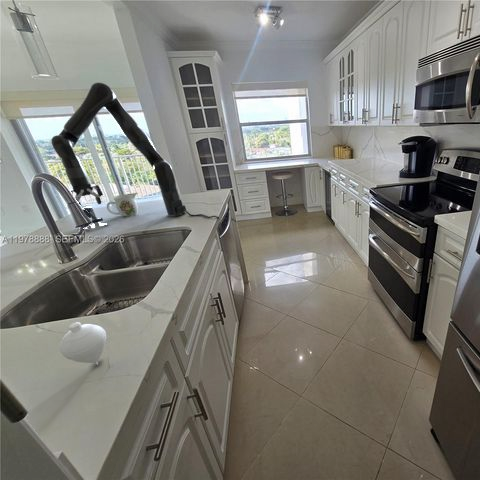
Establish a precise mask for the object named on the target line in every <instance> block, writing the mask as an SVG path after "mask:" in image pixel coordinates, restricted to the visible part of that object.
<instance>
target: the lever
mask: <svg viewBox="0 0 480 480" xmlns="http://www.w3.org/2000/svg"><path fill="white" fill-rule="evenodd" d="M83 208H84V209H85V210H87V211H88V212H89V214H90V216H91V217H92V218H93V219H94V220H92V218H91V217H90V216H89V217H90V218H91V221H92V222H93V223H96V222H100V223H101V222H103V221H104V218H103V217H99V218H97V216H96V217H95V216H93V215H92V214H91V213H90V210H89V209H88V208H87V207H83ZM92 222H91V223H92Z"/></svg>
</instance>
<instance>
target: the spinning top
mask: <svg viewBox="0 0 480 480" xmlns="http://www.w3.org/2000/svg"><path fill="white" fill-rule="evenodd" d="M68 329H69V331H67V332H66V333H65V334H64V335H63V337H62V339H61V342H60V343H59V352H60V354H61V355H62V357H64V358H66V359H67V360H70V361H74V362H76V363H77V362H79V363H85V364H95V365H96V366H99V363H98V361H99V360H100V358H101V357H102V354H103V352H104V349H105V348H106V347H105V346H106V342H107V333H106V330H105V329H104V328H103V327H102V326H100V325H97V324H92V323H85V324H81V322H79V321H78V322H77V321H76V322H73V323H71V324H70V325H69V327H68Z"/></svg>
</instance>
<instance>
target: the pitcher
mask: <svg viewBox="0 0 480 480" xmlns="http://www.w3.org/2000/svg"><path fill="white" fill-rule="evenodd" d="M138 194H139V193H138V192H132V193H125V194H120V195H117V196H113V197H112V199H113V200H114V201H109V202H107V203H106V209H107V211H108V212H109V213H110V214H112V215H116V216H119V215H121V216H122V217H131V216H133V217H136V216H138V212H139V207H138V203H137V201H136V196H137V195H138ZM110 205H114V206H115V208H116V210H117V212H116V211H112V209H111V208H110Z"/></svg>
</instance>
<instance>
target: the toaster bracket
mask: <svg viewBox="0 0 480 480" xmlns="http://www.w3.org/2000/svg"><path fill="white" fill-rule="evenodd" d="M86 208H88V209H89V210H90V213H91V214H92V215H93V216H95V217H96V218H97V216H96V213H95V211H94V209H93V207H92V206H86ZM90 219H91V221H92V220H94V219H93V218H92V217H90ZM105 225H107V223H104V222H101V221H100V222H96V223H93V224H92V225H90V226H89V227H86V228H85V230H88V231H89V230H93V229H95V228H98V227H102V226H105Z"/></svg>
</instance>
